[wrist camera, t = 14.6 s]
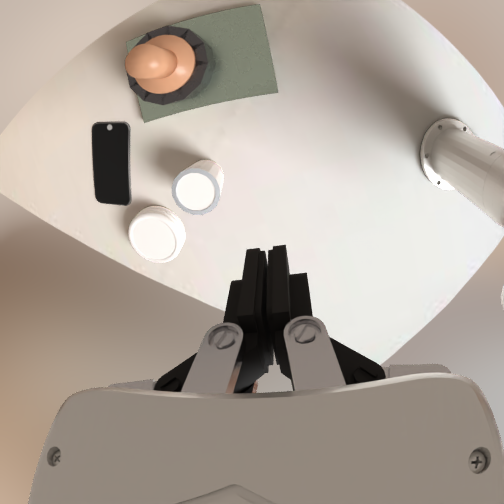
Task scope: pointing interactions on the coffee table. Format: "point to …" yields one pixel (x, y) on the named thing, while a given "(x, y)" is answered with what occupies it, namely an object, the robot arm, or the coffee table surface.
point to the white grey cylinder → (198, 187)
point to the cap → (161, 64)
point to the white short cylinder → (156, 234)
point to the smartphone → (111, 162)
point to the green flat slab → (214, 62)
